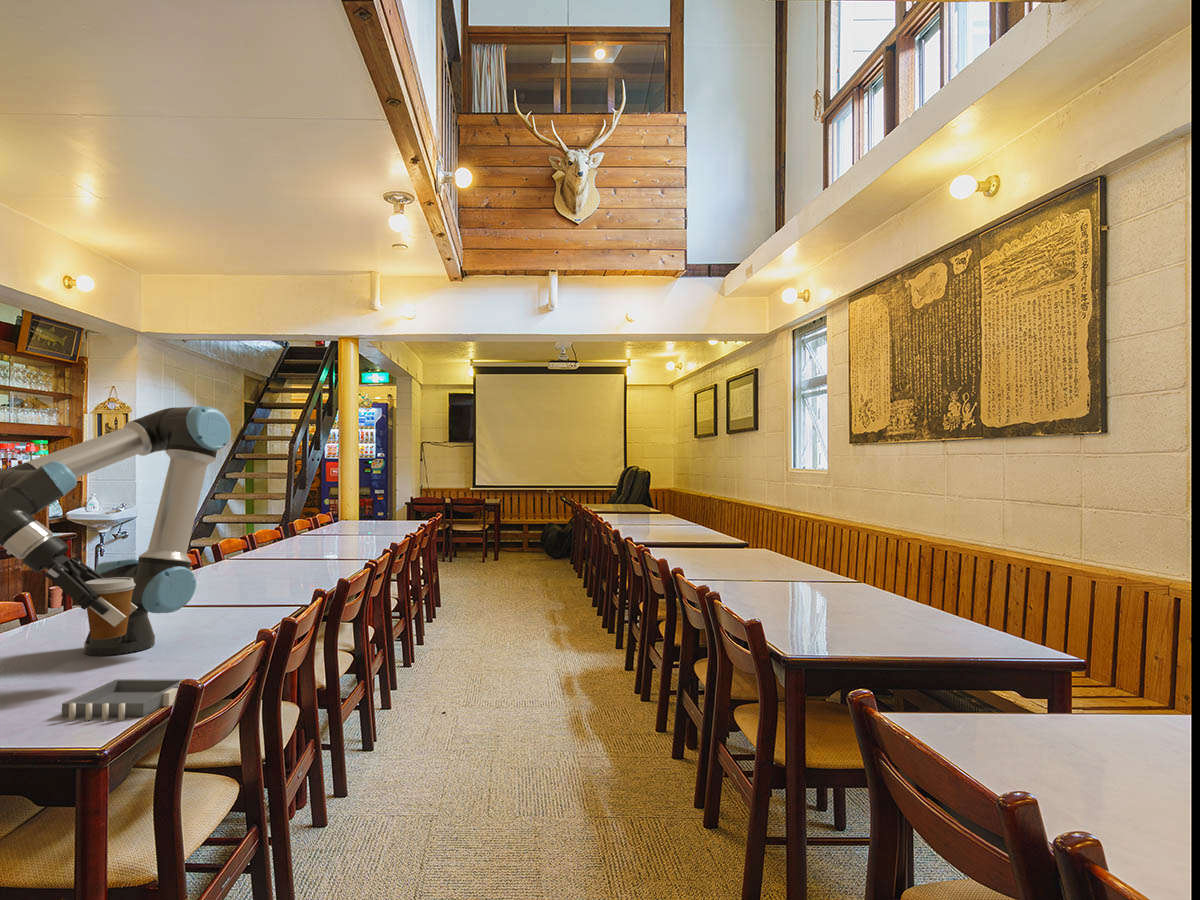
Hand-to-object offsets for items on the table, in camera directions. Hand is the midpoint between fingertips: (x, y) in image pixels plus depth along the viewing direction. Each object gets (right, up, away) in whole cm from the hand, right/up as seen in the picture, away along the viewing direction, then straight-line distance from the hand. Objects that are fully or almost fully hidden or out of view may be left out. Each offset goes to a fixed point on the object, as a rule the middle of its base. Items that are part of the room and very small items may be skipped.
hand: (126, 616), depth 150 cm
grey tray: (+11, -14, -15) cm, 23 cm away
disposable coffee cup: (-3, -4, -1) cm, 5 cm away
